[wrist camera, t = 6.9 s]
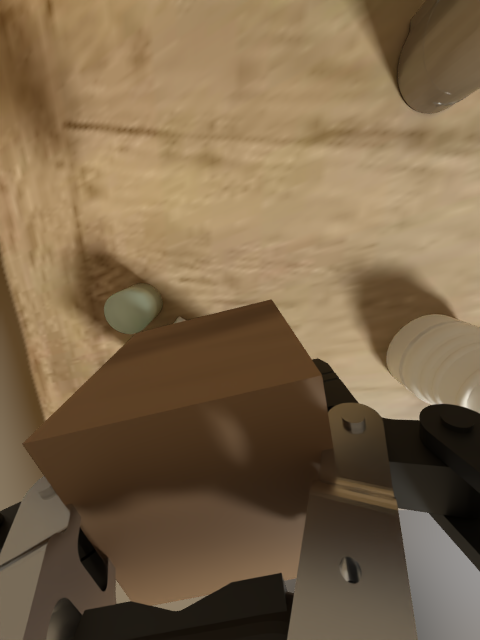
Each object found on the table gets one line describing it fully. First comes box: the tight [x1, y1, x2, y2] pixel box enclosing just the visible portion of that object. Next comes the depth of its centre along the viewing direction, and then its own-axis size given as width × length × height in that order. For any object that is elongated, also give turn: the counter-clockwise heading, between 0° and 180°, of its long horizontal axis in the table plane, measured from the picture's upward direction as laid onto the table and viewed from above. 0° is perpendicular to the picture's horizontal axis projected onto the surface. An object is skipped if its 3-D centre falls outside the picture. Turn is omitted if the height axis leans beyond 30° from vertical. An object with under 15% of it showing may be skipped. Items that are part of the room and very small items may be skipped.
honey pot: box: [386, 314, 480, 413], centre depth 31 cm, size 13×13×18 cm
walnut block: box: [23, 299, 333, 606], centre depth 8 cm, size 6×6×6 cm
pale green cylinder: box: [104, 283, 163, 334], centre depth 32 cm, size 5×5×6 cm
